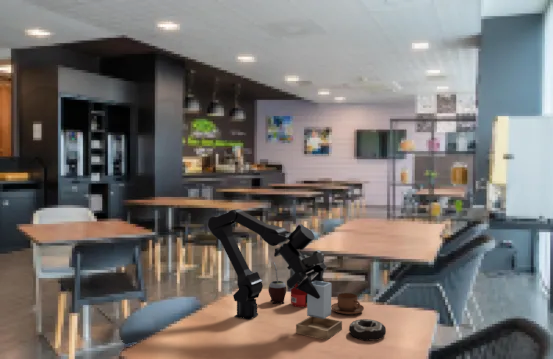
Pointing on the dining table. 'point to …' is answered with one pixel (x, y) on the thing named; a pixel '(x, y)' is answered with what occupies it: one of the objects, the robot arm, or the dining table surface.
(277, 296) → the mate gourd
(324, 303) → the tall grey bin
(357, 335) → the donut
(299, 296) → the canned food
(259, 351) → the dining table surface
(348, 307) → the cup and saucer
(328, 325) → the shallow brown tray
